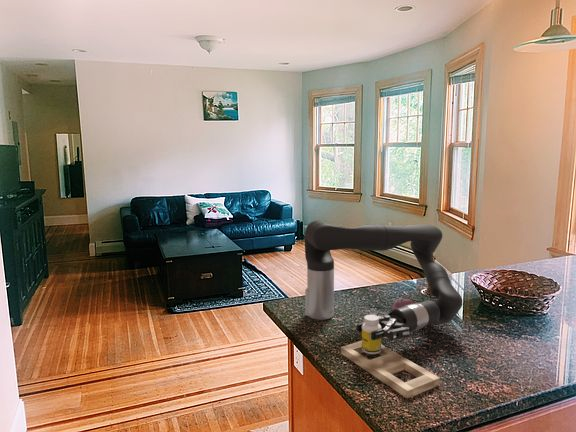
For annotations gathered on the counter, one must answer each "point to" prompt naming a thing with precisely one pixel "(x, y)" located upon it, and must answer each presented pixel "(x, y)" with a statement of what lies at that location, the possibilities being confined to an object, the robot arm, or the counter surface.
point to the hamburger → (427, 291)
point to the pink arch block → (403, 303)
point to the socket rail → (392, 369)
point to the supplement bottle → (368, 327)
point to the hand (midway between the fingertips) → (364, 332)
